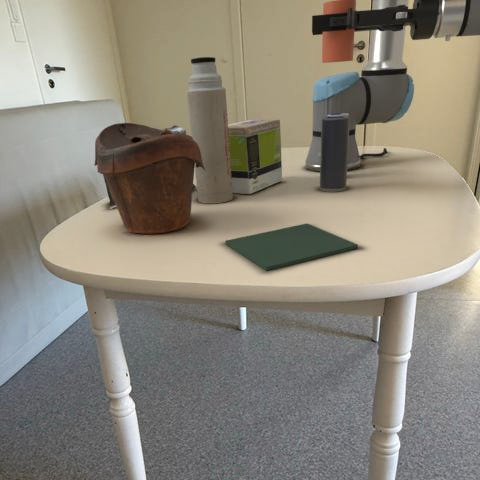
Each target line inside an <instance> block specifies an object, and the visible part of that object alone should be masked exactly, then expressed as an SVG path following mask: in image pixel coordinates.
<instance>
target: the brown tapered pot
mask: <svg viewBox="0 0 480 480" xmlns="http://www.w3.org/2000/svg"><path fill="white" fill-rule="evenodd" d="M164 129H165V131H163V129H160V128H157V127H156V128H155V127H151V126H148V125H144V124H139V123H133V122H118V123H114V124H111V125H108V126H106V127H104V129H102V130H101V131H100V132H99V134H98V136H97V137H96V138H95V141H94V164H93V165H94V167H96V166H97V168H96V169H97V173H99V174H101V175H103V174H104V176H105V179H106V181H107V184H108V186H109V189H110V191H111V194H112V196H113V199H114V201H115V204H116V206H117V208H116V209H117V211H118V213H119V217H120V218H121V221H122V224H123V226H124V228H125V230H127V231H128V232H129V233H132V234H141V235H142V234H143V235H145V234H146V235H147V234H149V235H150V234H165V233H170V232H175V231H178V230H181V229H182V228H184V227H186V226H188V224H189V223H190V222H191V218H192V202H193V190H194V189H193V184H194V178H195V163H196V167H197V168H198V167H202V168H203V169H204V170H205V168H204V166H203V162H202V158H201V152H200V148H199V146H198V144H197V143H196V142H195V141H194V140H193V138H192V136H191V135H189V134H186V135H185V134H173V133H171V132H172V131H171V130H168V129H166V127H165V128H164ZM205 171H206V170H205Z"/></svg>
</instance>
